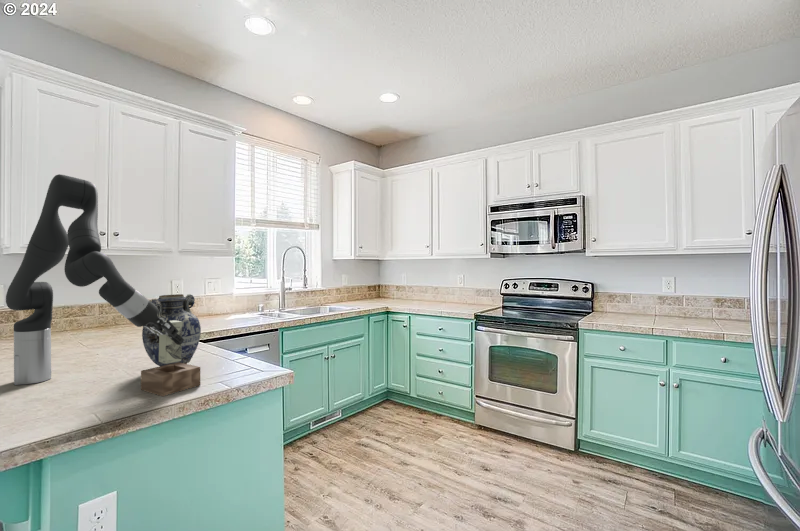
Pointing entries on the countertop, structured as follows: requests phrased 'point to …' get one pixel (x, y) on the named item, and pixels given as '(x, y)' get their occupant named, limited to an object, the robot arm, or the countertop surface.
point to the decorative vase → (179, 311)
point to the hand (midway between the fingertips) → (176, 341)
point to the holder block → (170, 378)
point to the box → (170, 346)
